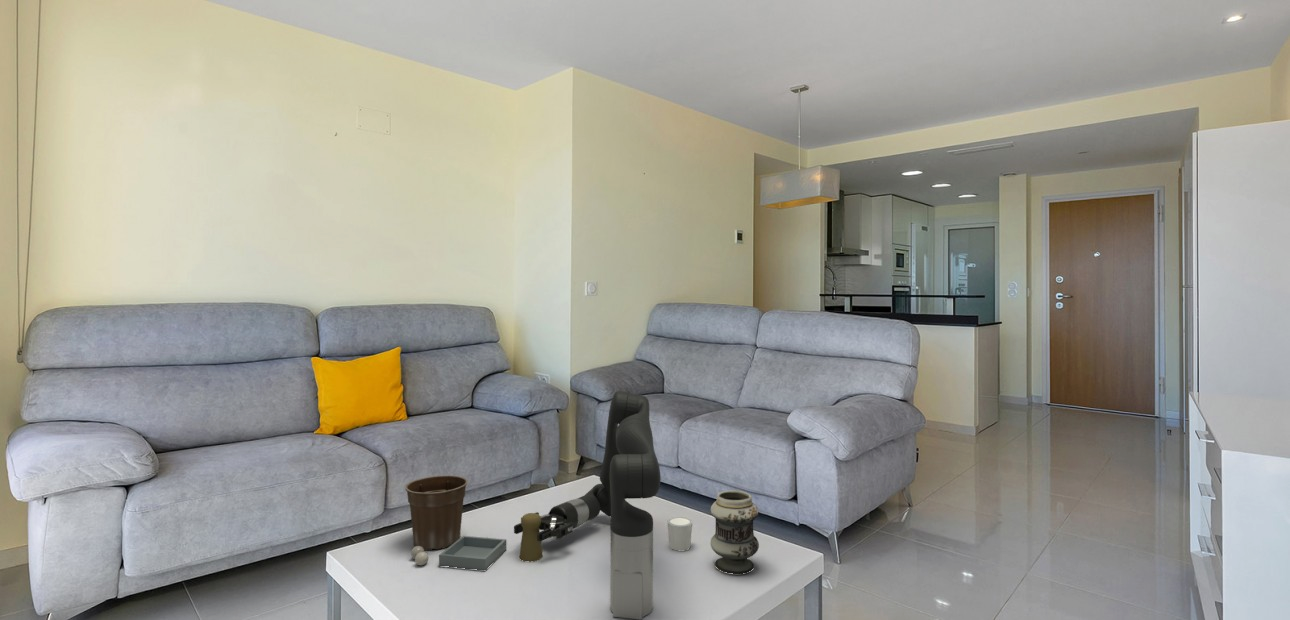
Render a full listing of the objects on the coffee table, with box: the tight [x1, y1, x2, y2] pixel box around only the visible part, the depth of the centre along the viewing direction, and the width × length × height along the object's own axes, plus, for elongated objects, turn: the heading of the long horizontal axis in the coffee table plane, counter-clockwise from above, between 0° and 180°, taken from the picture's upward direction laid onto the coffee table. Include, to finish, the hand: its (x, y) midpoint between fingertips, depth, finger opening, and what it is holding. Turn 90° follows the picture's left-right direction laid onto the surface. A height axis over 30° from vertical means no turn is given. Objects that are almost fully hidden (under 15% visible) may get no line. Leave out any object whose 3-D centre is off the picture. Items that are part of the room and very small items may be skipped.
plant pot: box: [404, 475, 468, 551], centre depth 164 cm, size 16×16×16 cm
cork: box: [519, 512, 544, 563], centre depth 155 cm, size 6×6×11 cm
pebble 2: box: [414, 551, 430, 566], centre depth 150 cm, size 3×3×3 cm
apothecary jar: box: [709, 490, 760, 575], centre depth 150 cm, size 12×12×18 cm
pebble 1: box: [410, 546, 425, 560], centre depth 153 cm, size 3×3×3 cm
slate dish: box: [438, 535, 507, 571], centre depth 153 cm, size 12×12×3 cm
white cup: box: [667, 516, 693, 552], centre depth 161 cm, size 7×7×7 cm
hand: (526, 533), depth 153 cm, fingers open, 8 cm apart
